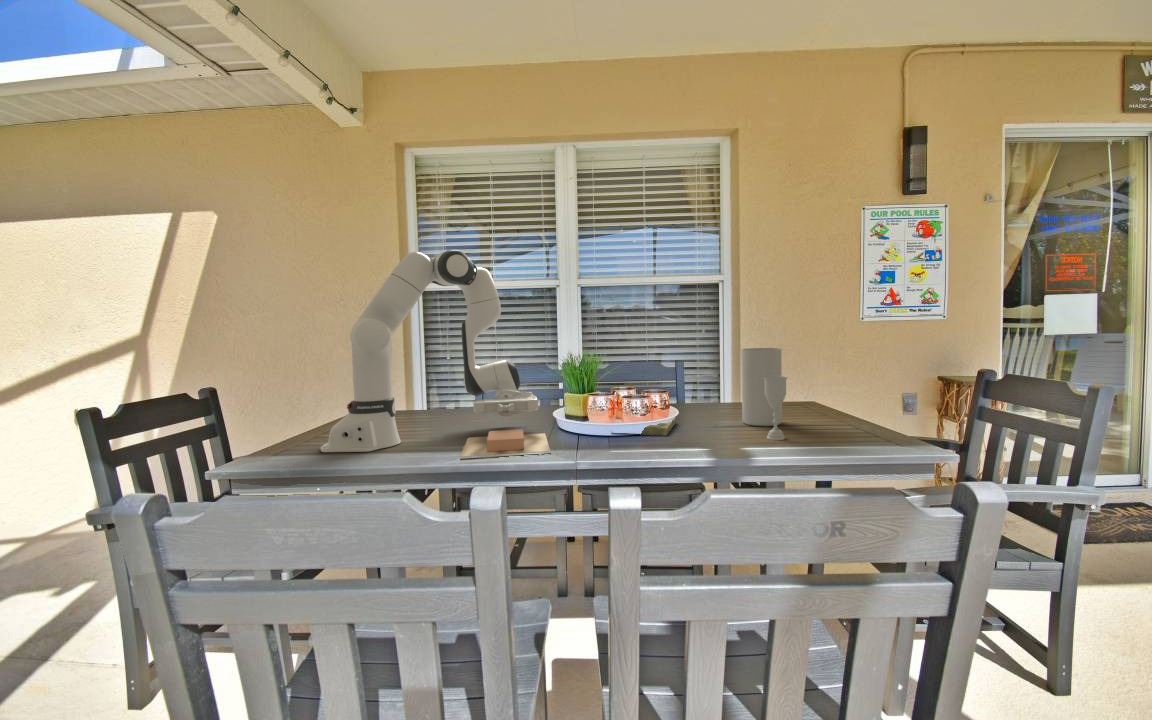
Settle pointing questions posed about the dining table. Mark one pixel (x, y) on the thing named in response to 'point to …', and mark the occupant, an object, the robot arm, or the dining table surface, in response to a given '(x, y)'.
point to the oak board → (479, 447)
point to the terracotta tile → (505, 440)
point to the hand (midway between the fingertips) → (505, 408)
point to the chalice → (775, 400)
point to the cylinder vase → (759, 385)
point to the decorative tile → (658, 428)
